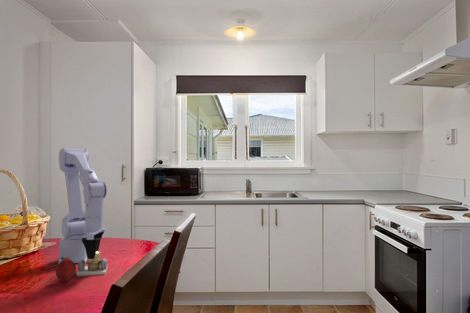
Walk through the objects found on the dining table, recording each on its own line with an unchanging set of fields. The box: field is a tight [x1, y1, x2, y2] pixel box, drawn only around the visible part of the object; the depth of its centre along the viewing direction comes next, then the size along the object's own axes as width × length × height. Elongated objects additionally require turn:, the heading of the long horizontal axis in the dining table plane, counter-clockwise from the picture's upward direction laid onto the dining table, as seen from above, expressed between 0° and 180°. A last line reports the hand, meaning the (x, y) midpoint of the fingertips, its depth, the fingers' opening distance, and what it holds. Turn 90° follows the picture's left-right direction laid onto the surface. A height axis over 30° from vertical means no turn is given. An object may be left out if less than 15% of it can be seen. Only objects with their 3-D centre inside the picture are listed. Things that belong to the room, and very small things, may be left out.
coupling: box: [86, 250, 102, 271], centre depth 111 cm, size 5×5×6 cm
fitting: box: [76, 257, 108, 277], centre depth 111 cm, size 9×7×4 cm
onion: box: [55, 256, 77, 282], centre depth 102 cm, size 6×6×8 cm
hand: (92, 255), depth 111 cm, fingers open, 7 cm apart
